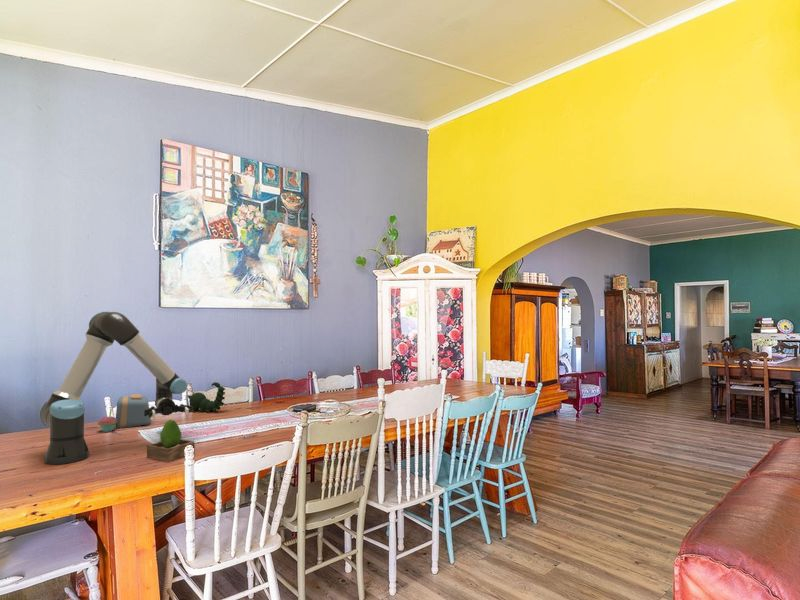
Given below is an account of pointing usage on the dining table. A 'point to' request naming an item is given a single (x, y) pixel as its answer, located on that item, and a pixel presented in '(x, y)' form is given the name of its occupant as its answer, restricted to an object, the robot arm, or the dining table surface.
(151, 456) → the walnut stand
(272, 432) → the dining table surface
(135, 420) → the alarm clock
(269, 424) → the dining table surface
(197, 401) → the toy figurine
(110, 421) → the cupcake
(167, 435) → the avocado
